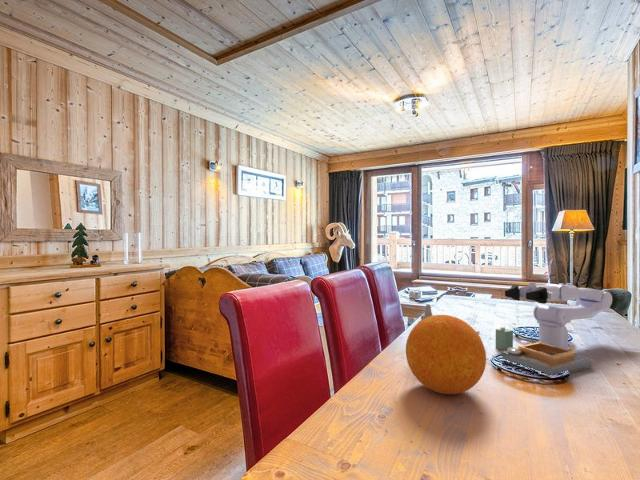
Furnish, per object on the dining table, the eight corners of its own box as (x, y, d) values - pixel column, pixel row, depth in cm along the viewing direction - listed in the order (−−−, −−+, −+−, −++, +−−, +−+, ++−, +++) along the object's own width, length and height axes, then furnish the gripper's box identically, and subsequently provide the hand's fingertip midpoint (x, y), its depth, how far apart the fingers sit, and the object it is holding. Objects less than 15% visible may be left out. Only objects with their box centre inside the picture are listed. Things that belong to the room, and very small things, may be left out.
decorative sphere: (502, 396, 87) (502, 318, 87) (452, 418, 77) (453, 329, 76) (437, 370, 104) (438, 305, 104) (390, 385, 93) (390, 312, 93)
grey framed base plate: (539, 352, 121) (539, 338, 121) (591, 368, 106) (591, 352, 106) (502, 360, 112) (502, 345, 112) (552, 379, 98) (553, 362, 98)
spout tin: (502, 346, 127) (502, 325, 127) (512, 349, 124) (513, 327, 124) (495, 348, 125) (495, 326, 125) (505, 351, 122) (505, 329, 122)
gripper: (521, 280, 129) (497, 281, 124) (562, 283, 116) (536, 284, 110) (522, 299, 129) (497, 301, 123) (562, 304, 116) (537, 306, 110)
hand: (516, 294), depth 117 cm, fingers open, 7 cm apart
